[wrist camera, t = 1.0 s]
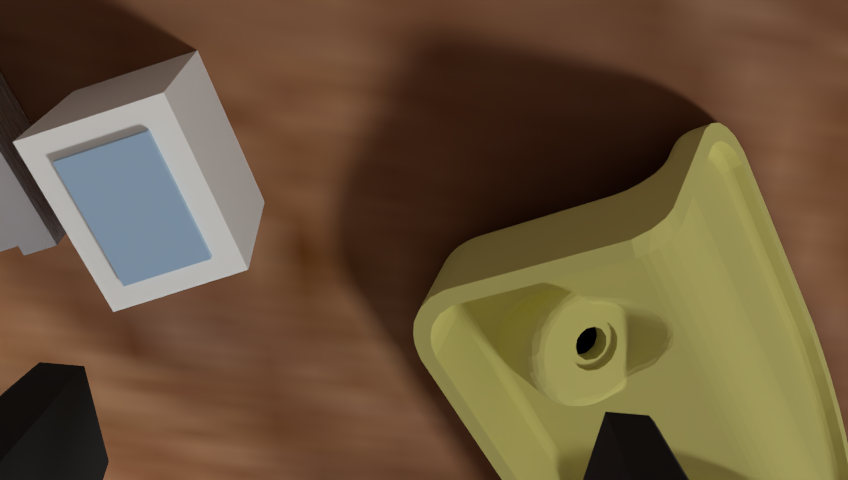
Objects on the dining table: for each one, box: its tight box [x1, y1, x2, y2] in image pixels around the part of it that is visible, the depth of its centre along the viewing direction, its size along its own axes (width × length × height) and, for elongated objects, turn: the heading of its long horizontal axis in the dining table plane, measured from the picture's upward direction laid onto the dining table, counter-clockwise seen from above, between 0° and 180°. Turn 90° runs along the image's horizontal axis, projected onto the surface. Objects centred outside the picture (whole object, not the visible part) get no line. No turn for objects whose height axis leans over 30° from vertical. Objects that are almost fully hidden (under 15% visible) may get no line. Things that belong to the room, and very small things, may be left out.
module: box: [13, 51, 264, 312], centre depth 21 cm, size 4×5×5 cm
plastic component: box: [413, 123, 848, 480], centre depth 27 cm, size 20×7×10 cm
